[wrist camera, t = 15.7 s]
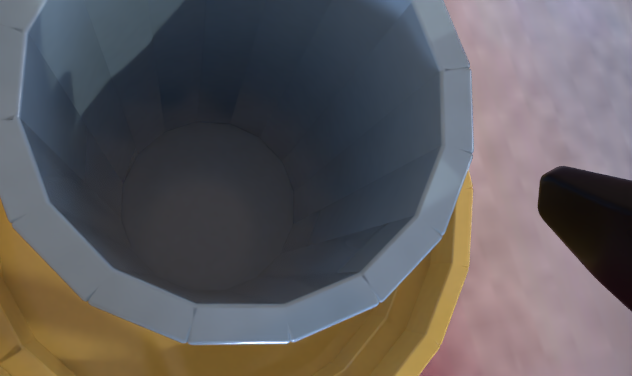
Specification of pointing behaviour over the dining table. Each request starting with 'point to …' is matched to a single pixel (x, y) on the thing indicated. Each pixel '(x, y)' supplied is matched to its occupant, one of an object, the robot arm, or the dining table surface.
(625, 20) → the dining table surface
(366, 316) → the bowl
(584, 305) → the dining table surface
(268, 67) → the blue tumbler
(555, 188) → the robot arm
